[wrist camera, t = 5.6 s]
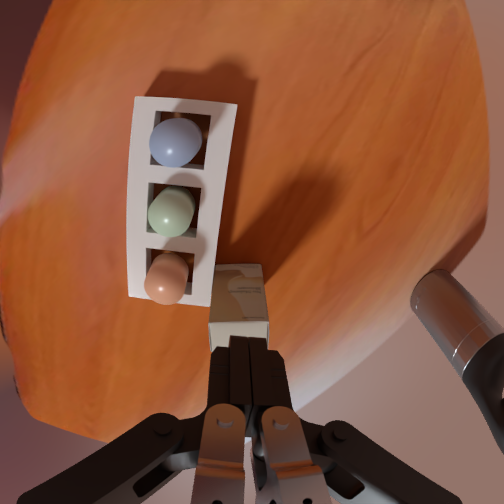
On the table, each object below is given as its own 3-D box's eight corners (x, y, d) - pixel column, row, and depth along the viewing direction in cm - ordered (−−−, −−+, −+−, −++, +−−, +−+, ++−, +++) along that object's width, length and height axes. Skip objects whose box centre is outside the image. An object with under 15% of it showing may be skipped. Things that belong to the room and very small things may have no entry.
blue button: (205, 120, 30) (201, 120, 26) (199, 163, 32) (195, 169, 28) (161, 116, 29) (151, 117, 25) (156, 159, 31) (147, 165, 27)
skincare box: (261, 262, 40) (272, 320, 29) (260, 290, 42) (271, 352, 31) (212, 263, 40) (207, 323, 29) (214, 291, 42) (210, 354, 31)
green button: (197, 187, 34) (193, 197, 31) (193, 226, 36) (189, 239, 33) (157, 183, 34) (148, 192, 30) (155, 221, 36) (147, 234, 32)
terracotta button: (189, 255, 36) (185, 271, 33) (187, 288, 38) (183, 307, 35) (151, 250, 36) (143, 266, 32) (151, 284, 38) (144, 301, 34)
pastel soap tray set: (237, 105, 31) (237, 104, 29) (210, 294, 42) (209, 306, 39) (142, 97, 30) (135, 96, 27) (134, 284, 40) (128, 296, 38)
